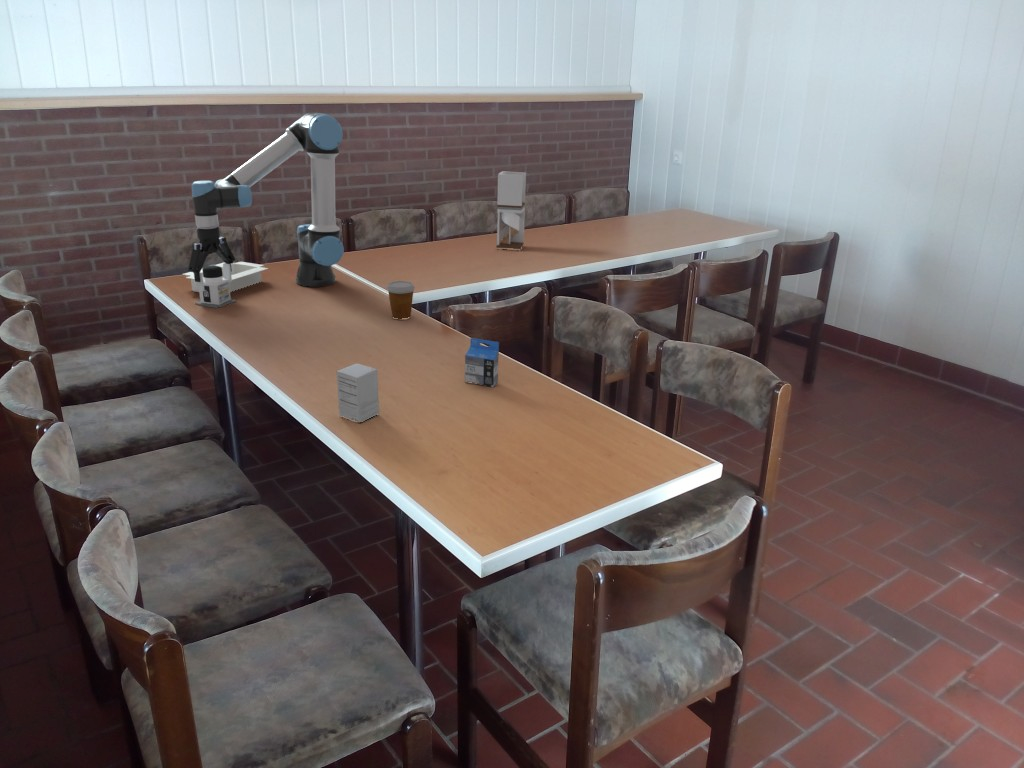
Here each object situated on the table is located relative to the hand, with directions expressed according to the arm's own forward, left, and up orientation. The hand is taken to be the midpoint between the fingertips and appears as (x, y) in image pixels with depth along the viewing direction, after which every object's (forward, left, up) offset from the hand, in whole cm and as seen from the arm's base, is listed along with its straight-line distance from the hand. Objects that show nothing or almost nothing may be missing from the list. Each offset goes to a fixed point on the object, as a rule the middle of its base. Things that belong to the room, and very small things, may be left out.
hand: (214, 285), depth 293 cm
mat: (0, 0, -6) cm, 6 cm away
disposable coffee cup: (-67, -18, -6) cm, 69 cm away
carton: (+12, -19, -6) cm, 23 cm away
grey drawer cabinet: (-102, +58, -6) cm, 117 cm away
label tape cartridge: (-119, +23, -6) cm, 121 cm away
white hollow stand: (-53, -138, -6) cm, 148 cm away
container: (0, 0, -6) cm, 6 cm away
